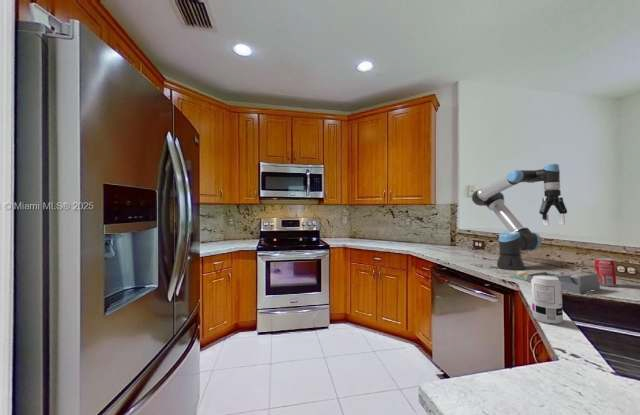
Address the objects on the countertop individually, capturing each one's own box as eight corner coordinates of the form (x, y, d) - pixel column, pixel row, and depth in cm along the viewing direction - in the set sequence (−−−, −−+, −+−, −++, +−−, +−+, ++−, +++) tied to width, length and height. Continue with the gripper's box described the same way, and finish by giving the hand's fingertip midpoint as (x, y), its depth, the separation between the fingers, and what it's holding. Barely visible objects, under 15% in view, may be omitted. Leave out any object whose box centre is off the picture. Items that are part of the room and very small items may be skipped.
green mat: (508, 277, 158) (508, 276, 158) (523, 275, 162) (523, 274, 162) (526, 281, 149) (526, 279, 149) (541, 278, 153) (541, 277, 153)
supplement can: (527, 316, 102) (525, 275, 102) (550, 315, 101) (548, 274, 102) (544, 325, 93) (542, 280, 94) (569, 324, 93) (567, 280, 93)
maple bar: (516, 276, 158) (516, 271, 158) (521, 275, 159) (521, 271, 159) (531, 279, 150) (531, 274, 150) (536, 278, 152) (536, 273, 152)
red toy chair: (620, 287, 133) (619, 260, 133) (602, 286, 135) (601, 260, 135) (608, 283, 140) (607, 257, 140) (591, 283, 142) (590, 257, 142)
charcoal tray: (527, 282, 147) (526, 267, 147) (545, 278, 152) (545, 265, 153) (579, 293, 126) (579, 276, 126) (599, 289, 131) (599, 273, 131)
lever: (538, 283, 143) (535, 279, 144) (554, 280, 148) (551, 276, 149) (574, 273, 128) (571, 268, 130) (591, 270, 133) (587, 265, 134)
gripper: (543, 189, 161) (545, 225, 160) (573, 189, 168) (575, 224, 167) (530, 190, 168) (532, 225, 167) (559, 190, 175) (561, 223, 175)
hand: (554, 224), depth 167 cm, fingers open, 13 cm apart
